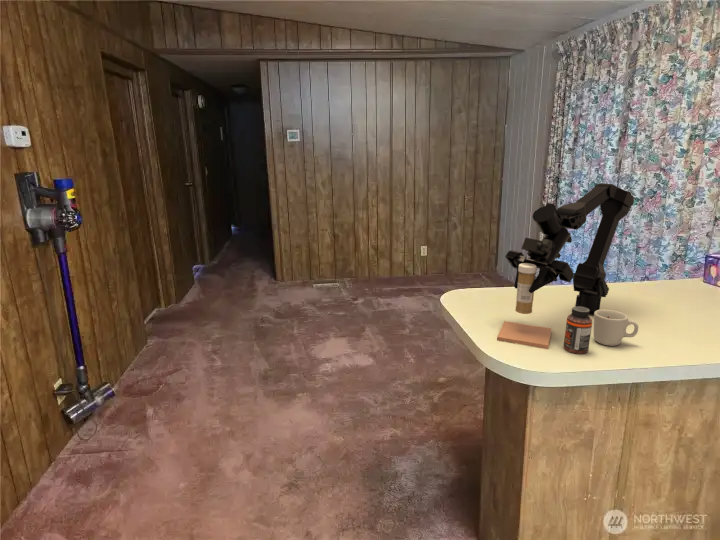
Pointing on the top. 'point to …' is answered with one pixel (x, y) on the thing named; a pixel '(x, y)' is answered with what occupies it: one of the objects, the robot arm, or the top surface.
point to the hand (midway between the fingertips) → (522, 289)
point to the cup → (612, 327)
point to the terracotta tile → (525, 334)
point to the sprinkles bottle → (525, 288)
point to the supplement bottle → (578, 330)
